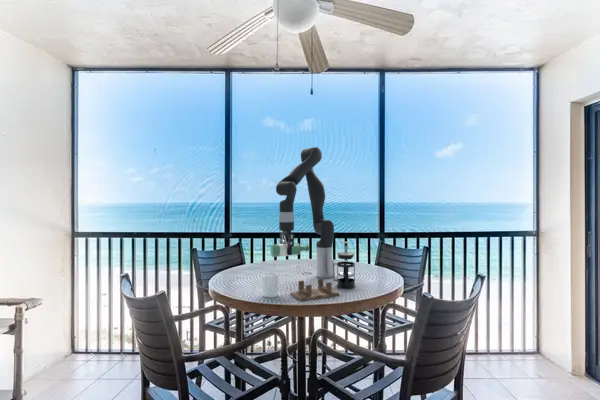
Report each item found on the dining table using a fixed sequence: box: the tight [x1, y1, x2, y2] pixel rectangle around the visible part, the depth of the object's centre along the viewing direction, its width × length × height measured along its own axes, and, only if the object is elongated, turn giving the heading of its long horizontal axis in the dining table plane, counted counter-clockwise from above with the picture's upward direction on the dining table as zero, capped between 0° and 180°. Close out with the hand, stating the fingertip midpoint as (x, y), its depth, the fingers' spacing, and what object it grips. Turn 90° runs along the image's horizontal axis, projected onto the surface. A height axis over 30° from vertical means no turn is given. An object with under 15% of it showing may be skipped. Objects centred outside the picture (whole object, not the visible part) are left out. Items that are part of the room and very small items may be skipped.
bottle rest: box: [290, 278, 340, 302], centre depth 155 cm, size 20×11×6 cm, turn 114°
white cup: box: [261, 271, 280, 298], centre depth 155 cm, size 8×8×10 cm
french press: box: [333, 241, 356, 290], centre depth 170 cm, size 12×9×23 cm
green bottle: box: [269, 242, 310, 258], centre depth 168 cm, size 20×6×6 cm, turn 114°
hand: (286, 253), depth 167 cm, fingers closed on green bottle, 6 cm apart
